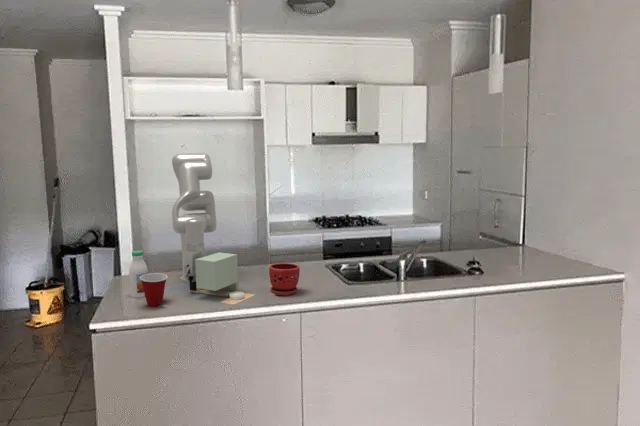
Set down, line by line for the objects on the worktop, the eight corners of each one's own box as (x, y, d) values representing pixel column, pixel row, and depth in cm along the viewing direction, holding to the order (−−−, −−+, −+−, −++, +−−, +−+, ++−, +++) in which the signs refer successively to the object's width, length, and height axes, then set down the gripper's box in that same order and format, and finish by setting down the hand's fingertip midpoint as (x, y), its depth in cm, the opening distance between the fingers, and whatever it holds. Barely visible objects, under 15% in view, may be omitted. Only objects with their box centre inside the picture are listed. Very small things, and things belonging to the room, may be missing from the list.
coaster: (235, 295, 227) (235, 290, 227) (246, 296, 224) (246, 292, 224) (226, 299, 222) (226, 294, 222) (238, 300, 219) (238, 296, 219)
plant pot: (288, 298, 224) (288, 270, 223) (263, 294, 231) (262, 267, 230) (305, 290, 236) (305, 264, 234) (281, 287, 242) (280, 261, 241)
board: (179, 284, 248) (179, 282, 248) (242, 294, 231) (242, 292, 231) (155, 293, 235) (155, 291, 235) (219, 304, 218) (219, 302, 218)
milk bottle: (130, 300, 225) (127, 253, 222) (131, 295, 233) (128, 250, 230) (149, 298, 227) (146, 252, 225) (149, 293, 235) (147, 248, 232)
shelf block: (220, 291, 237) (218, 252, 234) (238, 294, 232) (237, 254, 229) (197, 300, 224) (195, 259, 221) (216, 303, 219) (214, 261, 216)
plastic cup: (155, 310, 212) (154, 280, 210) (135, 306, 216) (133, 277, 215) (174, 302, 221) (173, 274, 220) (154, 299, 226) (153, 271, 224)
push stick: (197, 289, 236) (196, 273, 235) (233, 294, 226) (232, 278, 225) (190, 292, 232) (189, 276, 231) (227, 297, 222) (226, 280, 221)
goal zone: (242, 294, 231) (242, 292, 231) (255, 297, 227) (255, 294, 227) (219, 304, 218) (219, 302, 218) (233, 306, 214) (233, 304, 214)
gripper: (201, 243, 240) (203, 283, 242) (174, 250, 225) (176, 292, 227) (215, 244, 236) (216, 285, 238) (188, 251, 221) (190, 294, 224)
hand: (197, 288), depth 233 cm, fingers closed on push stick, 4 cm apart
